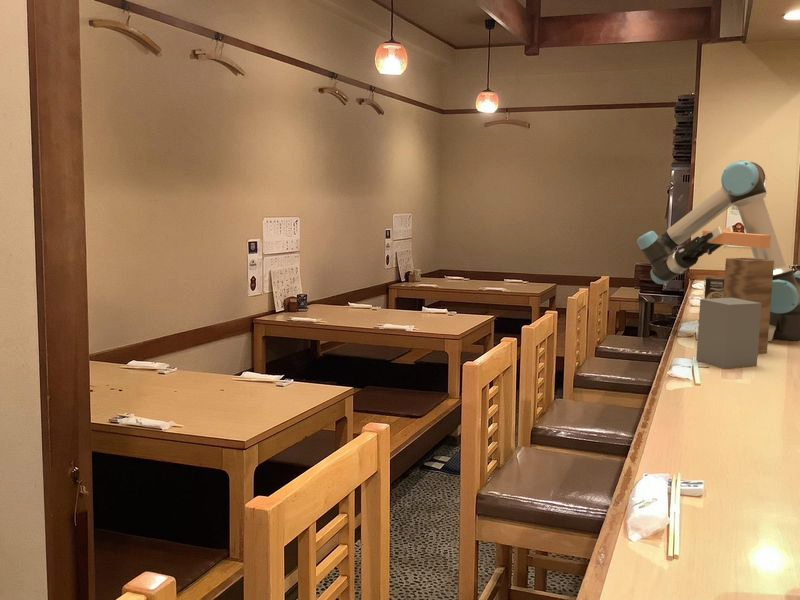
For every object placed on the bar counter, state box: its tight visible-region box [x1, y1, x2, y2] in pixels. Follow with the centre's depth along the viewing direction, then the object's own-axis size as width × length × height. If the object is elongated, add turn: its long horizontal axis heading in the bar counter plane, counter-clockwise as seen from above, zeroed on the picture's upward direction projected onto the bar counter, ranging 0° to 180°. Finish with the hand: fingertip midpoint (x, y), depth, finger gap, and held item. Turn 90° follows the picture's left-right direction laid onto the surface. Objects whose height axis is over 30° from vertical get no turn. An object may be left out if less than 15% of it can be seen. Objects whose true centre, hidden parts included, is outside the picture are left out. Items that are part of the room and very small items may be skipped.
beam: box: [701, 230, 771, 248], centre depth 253 cm, size 26×4×4 cm, turn 19°
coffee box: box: [703, 276, 725, 299], centre depth 319 cm, size 9×6×16 cm
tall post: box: [723, 257, 774, 355], centre depth 249 cm, size 10×10×30 cm
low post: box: [695, 298, 762, 370], centre depth 232 cm, size 12×12×19 cm
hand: (725, 230), depth 257 cm, fingers closed on beam, 4 cm apart
